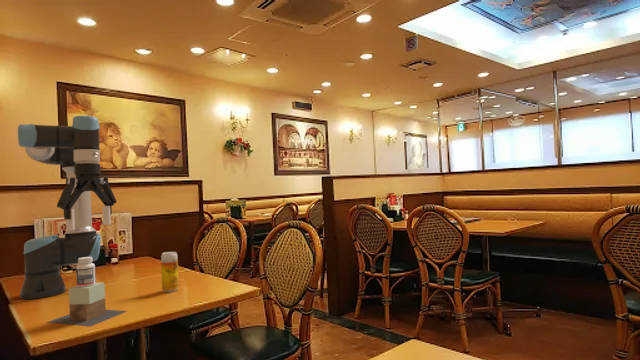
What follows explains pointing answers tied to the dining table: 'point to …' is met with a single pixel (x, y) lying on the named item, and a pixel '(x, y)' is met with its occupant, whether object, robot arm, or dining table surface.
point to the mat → (91, 322)
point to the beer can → (169, 271)
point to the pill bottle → (85, 272)
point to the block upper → (86, 294)
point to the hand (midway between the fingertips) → (89, 227)
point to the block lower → (87, 310)
